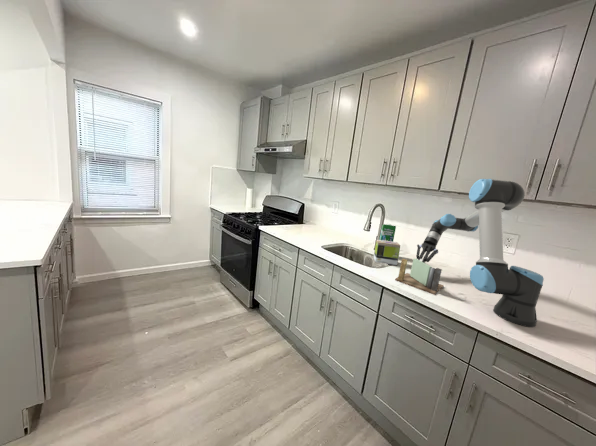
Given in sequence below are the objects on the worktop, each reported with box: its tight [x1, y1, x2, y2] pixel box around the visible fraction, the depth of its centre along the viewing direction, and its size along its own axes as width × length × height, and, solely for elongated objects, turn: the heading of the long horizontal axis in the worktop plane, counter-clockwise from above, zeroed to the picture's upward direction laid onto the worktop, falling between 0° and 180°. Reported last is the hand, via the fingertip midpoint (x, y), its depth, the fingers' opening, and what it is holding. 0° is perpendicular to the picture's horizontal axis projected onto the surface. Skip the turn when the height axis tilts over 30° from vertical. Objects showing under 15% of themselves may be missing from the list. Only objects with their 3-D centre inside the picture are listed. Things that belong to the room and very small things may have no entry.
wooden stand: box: [394, 258, 444, 296], centre depth 141 cm, size 21×18×13 cm
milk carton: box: [378, 223, 397, 242], centre depth 192 cm, size 9×9×25 cm
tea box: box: [373, 239, 401, 266], centre depth 176 cm, size 15×10×15 cm, turn 80°
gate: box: [409, 257, 436, 288], centre depth 141 cm, size 17×2×11 cm, turn 10°
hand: (417, 268), depth 153 cm, fingers closed
